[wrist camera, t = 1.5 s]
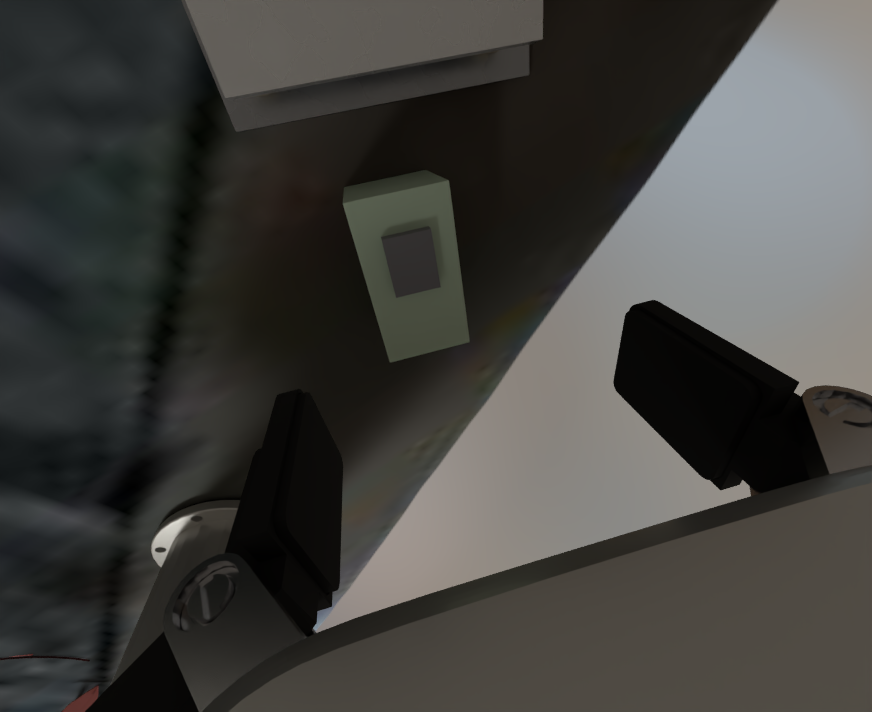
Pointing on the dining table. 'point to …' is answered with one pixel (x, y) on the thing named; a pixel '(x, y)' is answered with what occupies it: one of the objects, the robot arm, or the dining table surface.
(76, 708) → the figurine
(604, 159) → the dining table surface
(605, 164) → the dining table surface
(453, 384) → the dining table surface
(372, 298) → the pale green block
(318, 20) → the chassis
